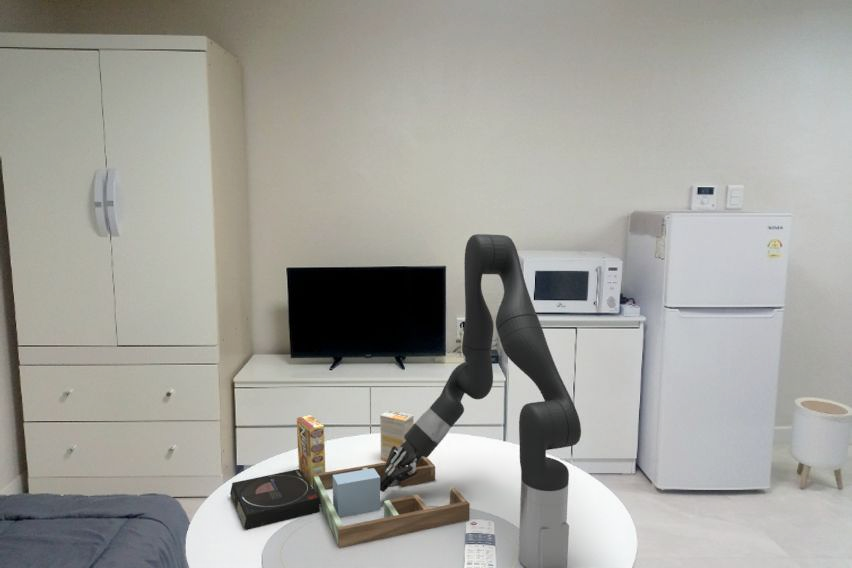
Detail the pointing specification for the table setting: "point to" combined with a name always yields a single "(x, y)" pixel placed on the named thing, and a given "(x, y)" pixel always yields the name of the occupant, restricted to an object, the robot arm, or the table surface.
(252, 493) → the portable cd player
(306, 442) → the candy box
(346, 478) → the brick
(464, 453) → the table surface
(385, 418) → the supplement box
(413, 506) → the frame
